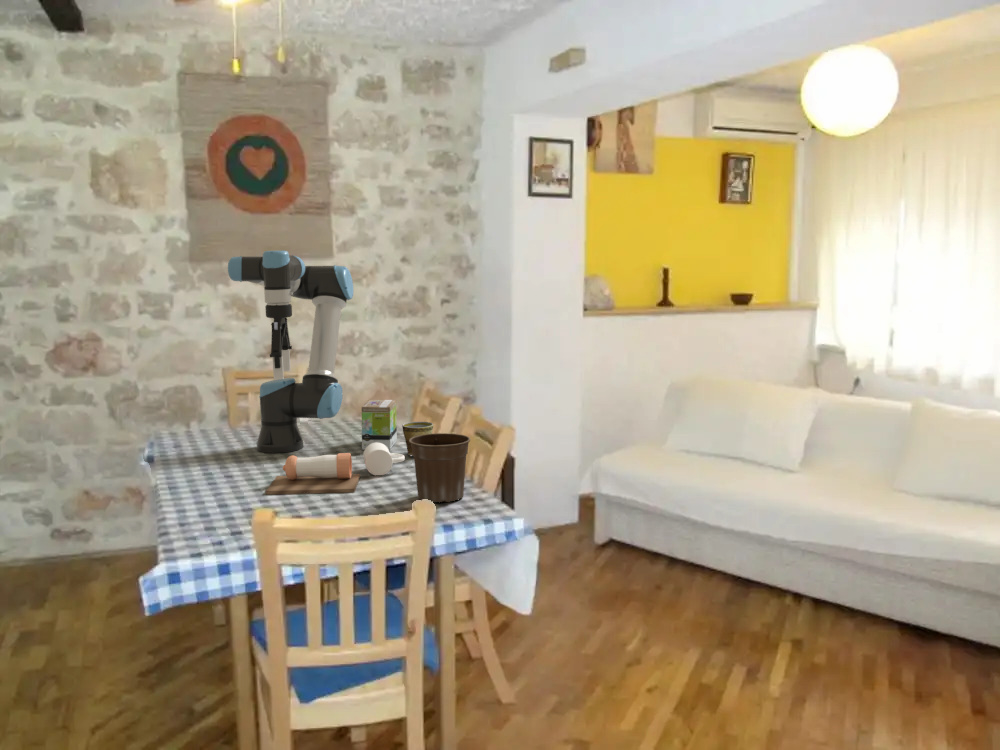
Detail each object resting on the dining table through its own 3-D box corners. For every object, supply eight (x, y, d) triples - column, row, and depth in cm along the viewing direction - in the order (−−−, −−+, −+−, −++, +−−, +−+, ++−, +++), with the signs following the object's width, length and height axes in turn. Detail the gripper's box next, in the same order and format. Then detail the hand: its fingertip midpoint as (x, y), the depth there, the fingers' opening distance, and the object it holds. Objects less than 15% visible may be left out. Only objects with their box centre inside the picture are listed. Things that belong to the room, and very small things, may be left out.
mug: (366, 476, 259) (365, 450, 258) (363, 468, 269) (362, 443, 268) (406, 474, 262) (406, 447, 261) (403, 466, 272) (402, 440, 270)
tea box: (391, 450, 293) (390, 406, 290) (361, 450, 293) (359, 406, 291) (397, 440, 307) (396, 398, 305) (368, 440, 308) (367, 398, 306)
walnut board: (266, 494, 242) (265, 490, 241) (277, 479, 257) (276, 475, 257) (354, 492, 243) (354, 488, 243) (360, 477, 259) (359, 473, 259)
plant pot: (428, 486, 248) (426, 430, 245) (480, 492, 242) (480, 434, 239) (399, 502, 233) (398, 442, 231) (455, 508, 227) (454, 447, 224)
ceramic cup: (433, 458, 281) (433, 427, 280) (402, 458, 281) (401, 428, 279) (434, 448, 294) (433, 419, 293) (403, 449, 293) (403, 420, 292)
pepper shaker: (348, 470, 249) (279, 472, 247) (351, 483, 254) (283, 485, 253) (349, 448, 253) (282, 450, 252) (352, 461, 259) (286, 463, 257)
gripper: (285, 307, 247) (289, 382, 251) (297, 299, 271) (300, 367, 275) (257, 308, 246) (262, 382, 250) (272, 300, 271) (276, 368, 274)
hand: (282, 375), depth 263 cm, fingers open, 13 cm apart
